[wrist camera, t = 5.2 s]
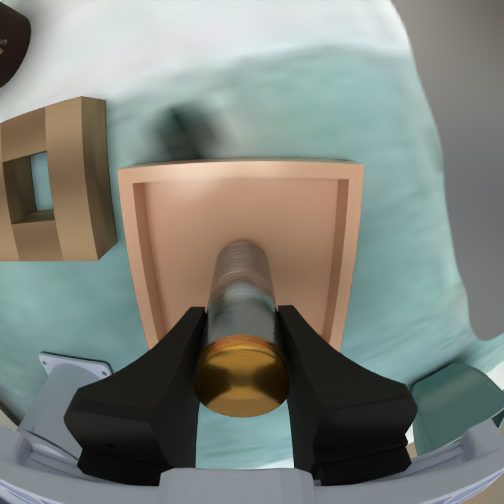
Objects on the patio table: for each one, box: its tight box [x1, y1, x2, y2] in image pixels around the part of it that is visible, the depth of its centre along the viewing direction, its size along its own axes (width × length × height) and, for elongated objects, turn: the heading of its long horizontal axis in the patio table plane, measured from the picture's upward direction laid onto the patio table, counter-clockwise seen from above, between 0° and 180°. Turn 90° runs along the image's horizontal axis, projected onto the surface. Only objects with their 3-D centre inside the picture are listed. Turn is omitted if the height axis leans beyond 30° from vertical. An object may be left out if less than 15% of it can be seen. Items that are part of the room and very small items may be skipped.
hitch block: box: [0, 96, 117, 261], centre depth 15 cm, size 9×9×3 cm
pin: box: [194, 242, 290, 417], centre depth 13 cm, size 3×3×9 cm
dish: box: [118, 158, 364, 352], centre depth 17 cm, size 13×13×2 cm
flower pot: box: [412, 363, 504, 456], centre depth 21 cm, size 9×9×9 cm
